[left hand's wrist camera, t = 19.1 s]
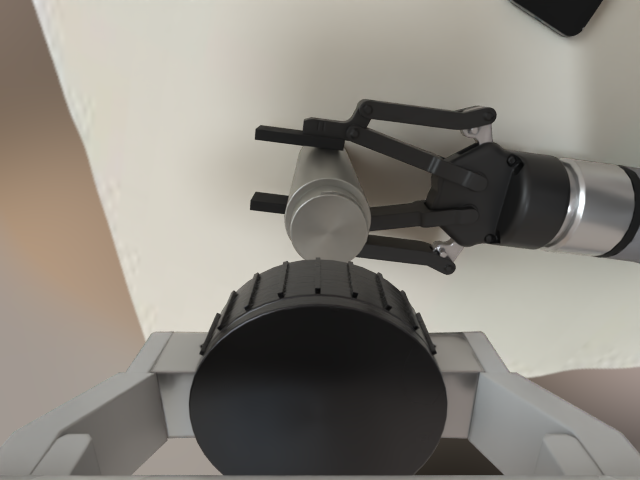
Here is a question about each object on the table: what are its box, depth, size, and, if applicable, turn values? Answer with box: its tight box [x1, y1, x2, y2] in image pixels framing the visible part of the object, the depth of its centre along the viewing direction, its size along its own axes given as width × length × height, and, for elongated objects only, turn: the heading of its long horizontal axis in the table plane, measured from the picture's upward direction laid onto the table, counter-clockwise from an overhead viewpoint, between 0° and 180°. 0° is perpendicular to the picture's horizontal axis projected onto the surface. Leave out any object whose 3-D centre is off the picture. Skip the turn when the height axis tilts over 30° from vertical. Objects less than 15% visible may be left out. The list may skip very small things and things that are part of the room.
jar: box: [285, 146, 371, 263], centre depth 30 cm, size 5×5×19 cm
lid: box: [189, 257, 448, 475], centre depth 9 cm, size 5×5×2 cm
